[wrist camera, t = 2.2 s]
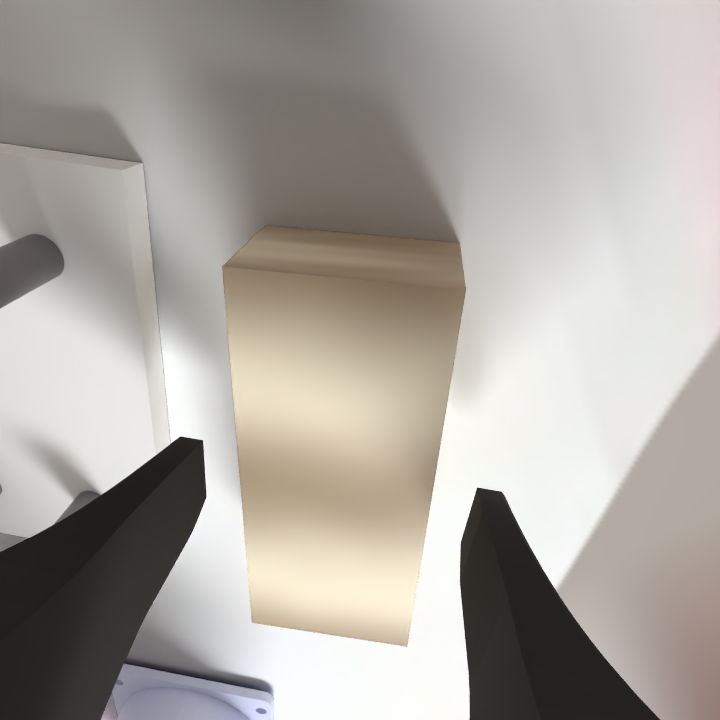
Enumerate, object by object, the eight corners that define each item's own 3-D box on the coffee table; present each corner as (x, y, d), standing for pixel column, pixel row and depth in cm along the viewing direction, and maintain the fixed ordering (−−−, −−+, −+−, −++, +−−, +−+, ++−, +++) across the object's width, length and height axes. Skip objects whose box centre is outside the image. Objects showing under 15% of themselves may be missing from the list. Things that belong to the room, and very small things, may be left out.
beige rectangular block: (411, 555, 19) (406, 646, 16) (280, 537, 20) (251, 622, 17) (459, 238, 13) (466, 290, 10) (269, 222, 14) (222, 266, 11)
